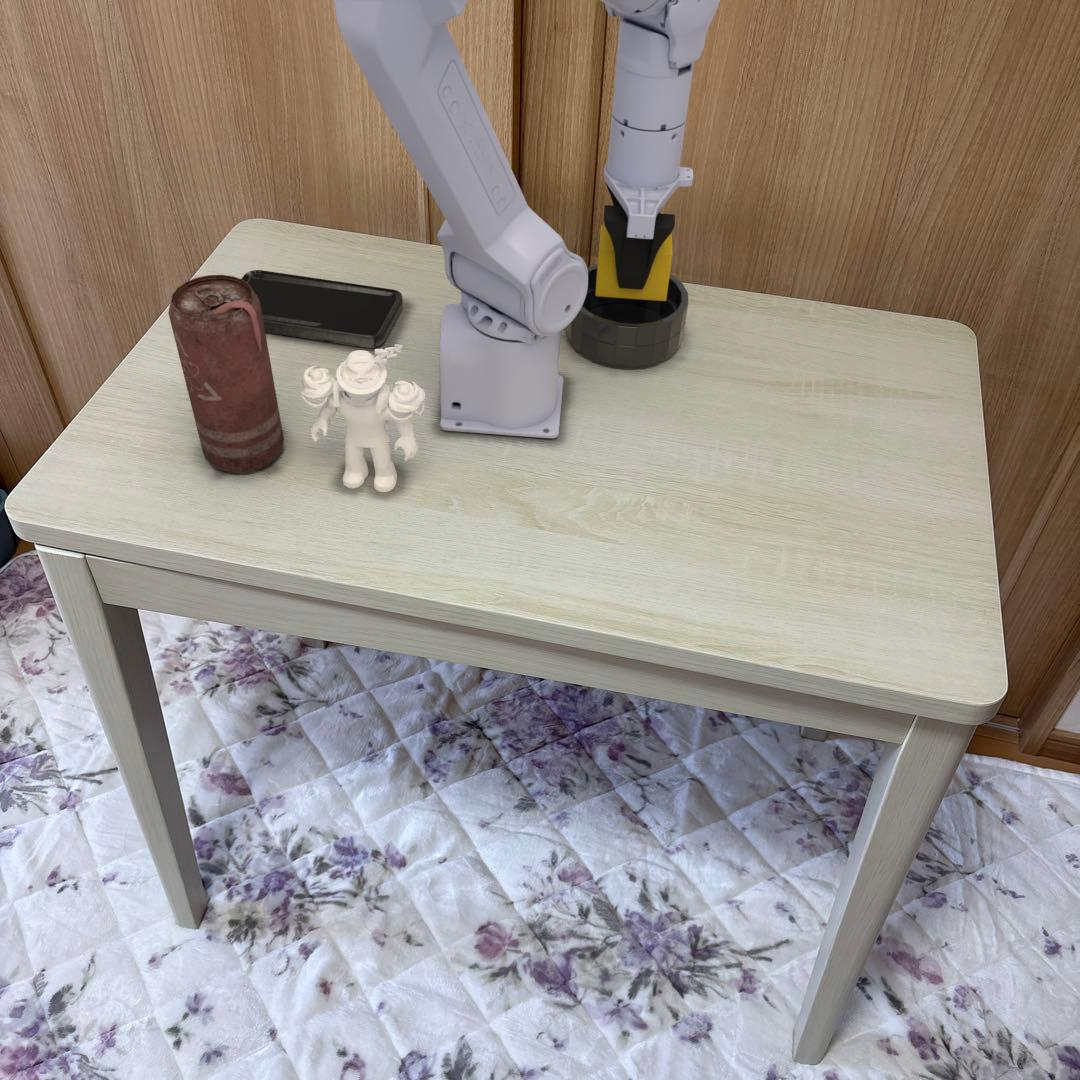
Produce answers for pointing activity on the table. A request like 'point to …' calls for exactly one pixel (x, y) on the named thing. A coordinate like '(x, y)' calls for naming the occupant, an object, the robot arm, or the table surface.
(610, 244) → the sponge
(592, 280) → the bowl
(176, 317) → the can
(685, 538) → the table surface
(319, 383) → the flower shoulder figurine
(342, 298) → the phone
